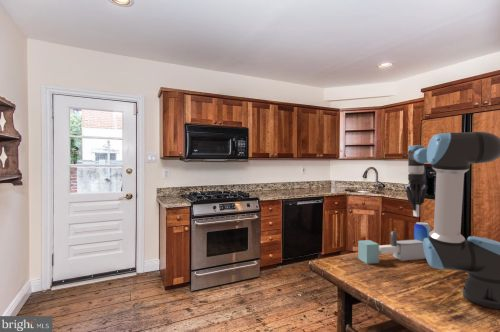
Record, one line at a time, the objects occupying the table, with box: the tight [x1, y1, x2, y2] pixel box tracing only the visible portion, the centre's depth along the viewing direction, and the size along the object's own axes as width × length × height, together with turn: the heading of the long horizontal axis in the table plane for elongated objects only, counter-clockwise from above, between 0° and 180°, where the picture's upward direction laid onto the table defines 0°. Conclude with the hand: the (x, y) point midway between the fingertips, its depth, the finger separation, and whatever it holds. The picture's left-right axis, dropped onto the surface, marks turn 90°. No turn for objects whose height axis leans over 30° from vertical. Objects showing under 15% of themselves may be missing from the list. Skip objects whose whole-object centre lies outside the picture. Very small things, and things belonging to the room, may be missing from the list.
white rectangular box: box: [392, 239, 426, 261], centre depth 152 cm, size 7×15×9 cm, turn 100°
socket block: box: [357, 239, 380, 265], centre depth 148 cm, size 8×7×10 cm
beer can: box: [413, 221, 432, 242], centre depth 166 cm, size 8×8×16 cm
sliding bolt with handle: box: [379, 230, 400, 255], centre depth 151 cm, size 4×24×11 cm, turn 100°
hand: (416, 216), depth 150 cm, fingers closed
